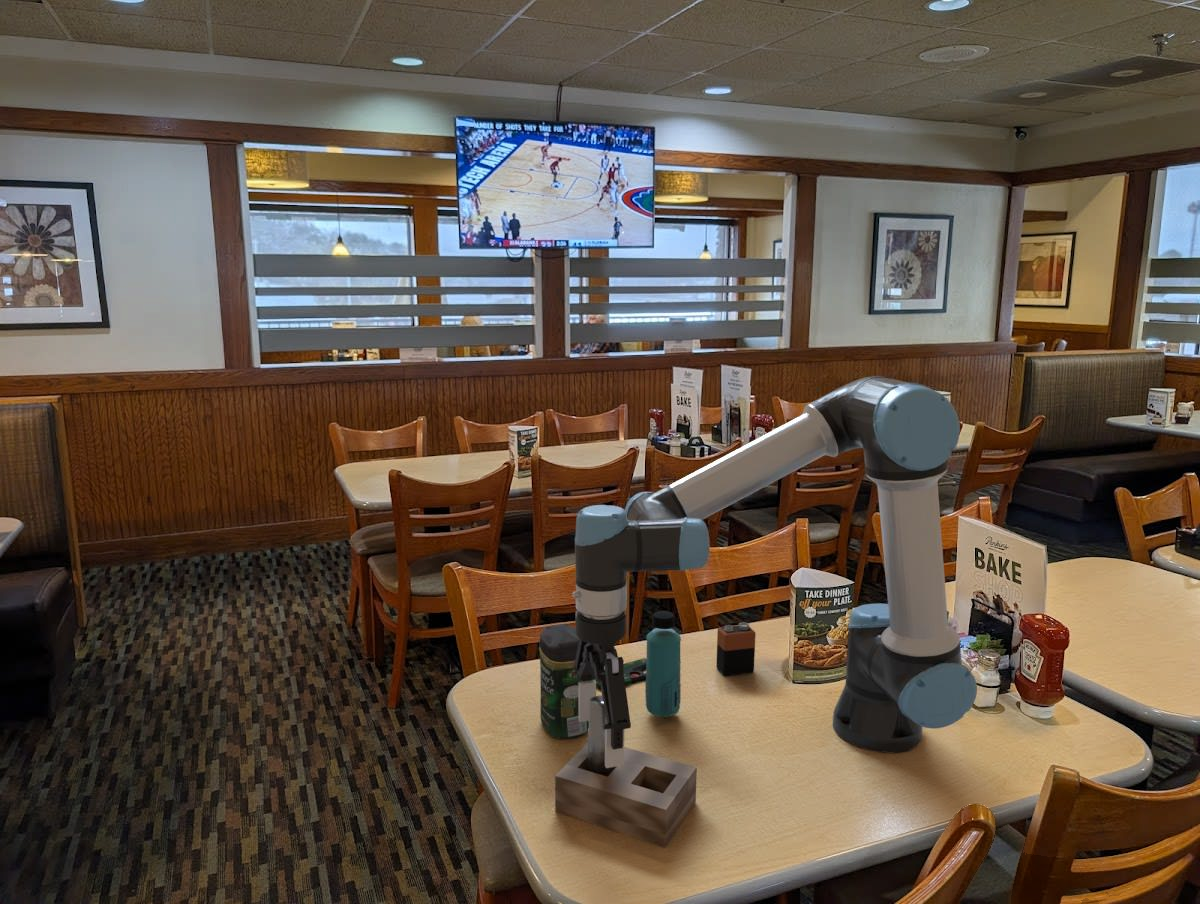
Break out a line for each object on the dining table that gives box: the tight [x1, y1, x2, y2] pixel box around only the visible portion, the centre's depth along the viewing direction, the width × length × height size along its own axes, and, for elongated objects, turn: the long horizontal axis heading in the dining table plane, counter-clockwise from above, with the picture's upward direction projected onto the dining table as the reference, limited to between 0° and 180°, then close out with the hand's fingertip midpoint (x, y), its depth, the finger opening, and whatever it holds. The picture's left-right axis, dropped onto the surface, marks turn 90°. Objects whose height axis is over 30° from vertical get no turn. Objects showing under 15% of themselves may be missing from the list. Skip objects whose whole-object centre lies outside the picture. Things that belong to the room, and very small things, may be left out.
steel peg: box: [587, 695, 614, 777], centre depth 129 cm, size 4×4×14 cm
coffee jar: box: [539, 623, 589, 740], centre depth 150 cm, size 10×8×19 cm
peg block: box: [554, 742, 698, 849], centre depth 128 cm, size 18×12×6 cm, turn 63°
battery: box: [716, 622, 756, 677], centre depth 173 cm, size 4×7×10 cm, turn 105°
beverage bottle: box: [644, 610, 682, 718], centre depth 154 cm, size 6×7×20 cm
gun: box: [591, 657, 647, 691], centre depth 171 cm, size 16×1×10 cm
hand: (600, 741), depth 129 cm, fingers open, 13 cm apart
